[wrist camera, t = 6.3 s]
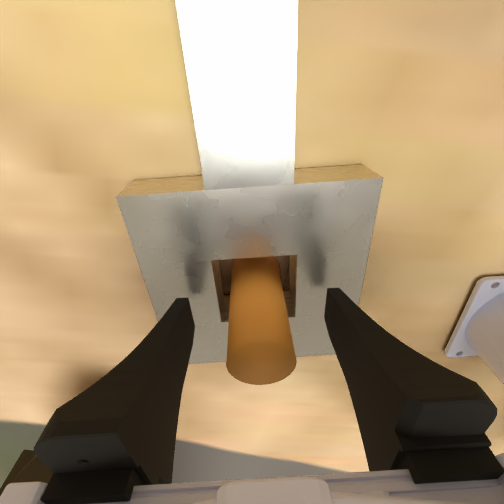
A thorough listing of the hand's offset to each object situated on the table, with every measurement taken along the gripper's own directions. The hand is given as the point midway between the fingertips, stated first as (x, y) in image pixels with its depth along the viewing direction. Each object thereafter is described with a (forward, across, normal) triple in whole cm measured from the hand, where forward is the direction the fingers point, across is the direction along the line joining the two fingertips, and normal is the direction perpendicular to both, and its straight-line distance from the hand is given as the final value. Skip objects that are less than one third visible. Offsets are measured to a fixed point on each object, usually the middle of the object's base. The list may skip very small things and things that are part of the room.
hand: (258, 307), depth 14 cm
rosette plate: (+4, 0, -4) cm, 6 cm away
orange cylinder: (+4, 0, 0) cm, 4 cm away
